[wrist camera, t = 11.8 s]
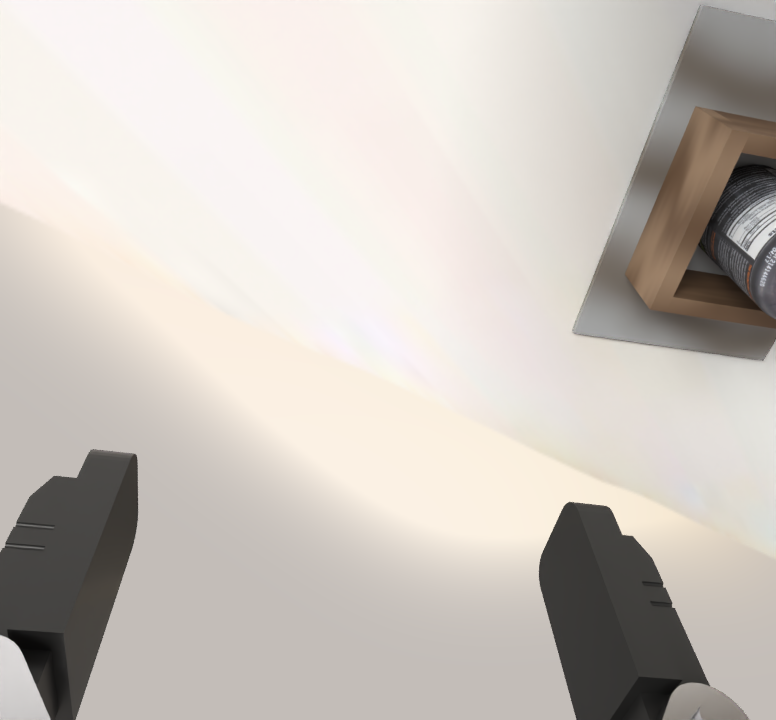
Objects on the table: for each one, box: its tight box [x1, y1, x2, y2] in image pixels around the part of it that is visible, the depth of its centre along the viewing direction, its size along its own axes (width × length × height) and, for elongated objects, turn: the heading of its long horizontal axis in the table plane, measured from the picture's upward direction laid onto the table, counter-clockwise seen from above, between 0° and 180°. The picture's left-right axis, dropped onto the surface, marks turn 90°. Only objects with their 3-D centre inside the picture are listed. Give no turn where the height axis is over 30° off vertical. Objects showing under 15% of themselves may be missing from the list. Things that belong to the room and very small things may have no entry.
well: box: [573, 5, 776, 360], centre depth 40 cm, size 20×14×5 cm
